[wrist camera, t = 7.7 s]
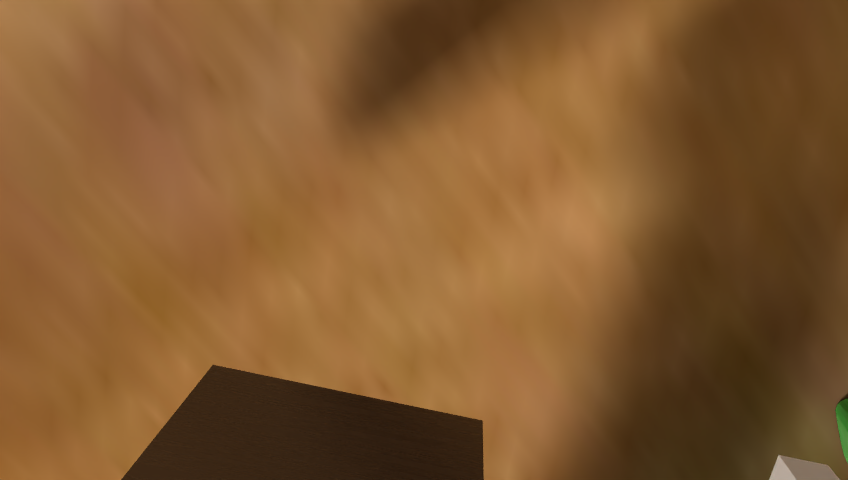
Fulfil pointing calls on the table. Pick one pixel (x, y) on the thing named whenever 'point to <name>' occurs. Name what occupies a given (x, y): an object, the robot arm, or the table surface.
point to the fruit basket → (843, 425)
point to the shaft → (305, 436)
